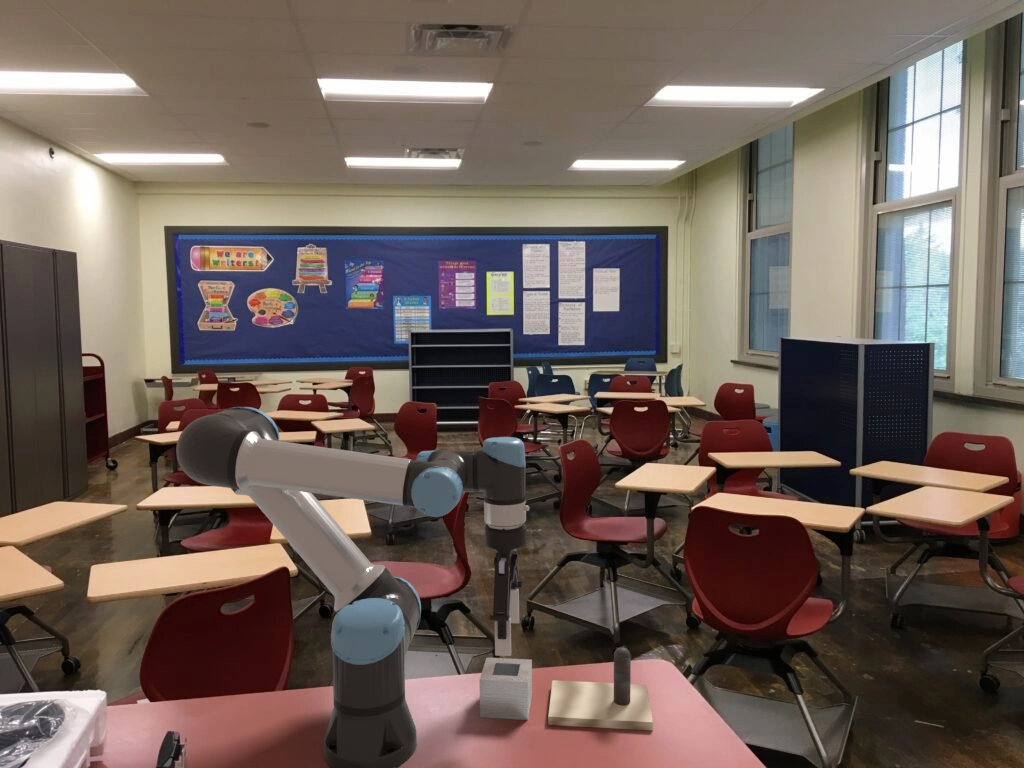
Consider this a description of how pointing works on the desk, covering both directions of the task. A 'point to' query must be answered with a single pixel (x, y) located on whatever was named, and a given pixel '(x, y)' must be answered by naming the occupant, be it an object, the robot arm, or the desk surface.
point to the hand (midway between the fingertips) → (507, 638)
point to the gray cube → (506, 688)
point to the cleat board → (602, 701)
